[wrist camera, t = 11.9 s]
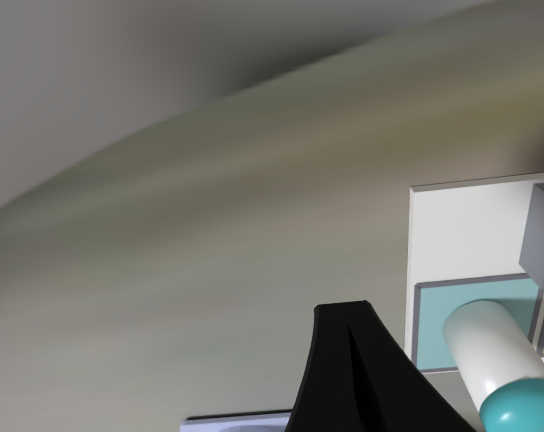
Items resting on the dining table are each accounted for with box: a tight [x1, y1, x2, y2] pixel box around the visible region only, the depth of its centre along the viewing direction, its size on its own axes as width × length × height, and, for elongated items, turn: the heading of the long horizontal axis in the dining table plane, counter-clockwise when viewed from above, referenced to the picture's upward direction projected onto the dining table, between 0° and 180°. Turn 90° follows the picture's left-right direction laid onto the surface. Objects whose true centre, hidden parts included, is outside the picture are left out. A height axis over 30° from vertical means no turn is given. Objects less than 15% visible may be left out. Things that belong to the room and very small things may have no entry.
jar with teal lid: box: [442, 301, 544, 432], centre depth 20 cm, size 4×4×6 cm
